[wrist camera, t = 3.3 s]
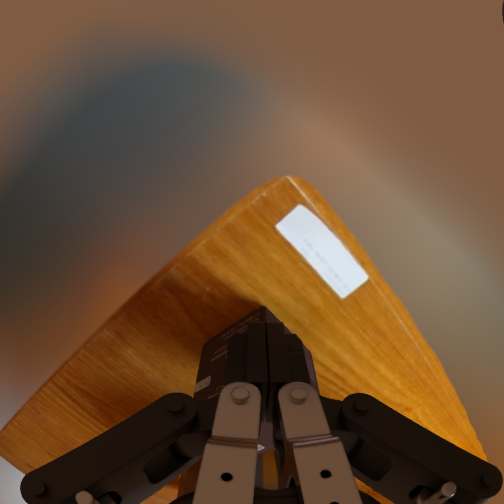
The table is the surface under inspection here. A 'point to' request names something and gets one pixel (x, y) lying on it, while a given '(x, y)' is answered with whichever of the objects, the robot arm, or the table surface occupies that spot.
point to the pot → (263, 476)
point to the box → (215, 365)
